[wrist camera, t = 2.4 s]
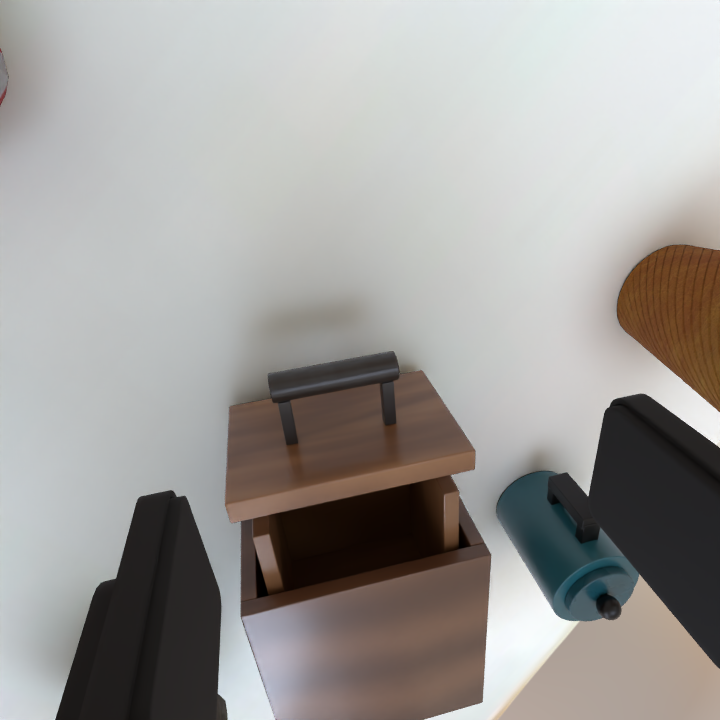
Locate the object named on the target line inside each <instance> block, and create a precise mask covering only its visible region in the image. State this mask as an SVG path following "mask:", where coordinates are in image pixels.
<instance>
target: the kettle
mask: <svg viewBox="0 0 720 720" xmlns="http://www.w3.org/2000/svg"><path fill="white" fill-rule="evenodd" d="M497 517H498V520H499V522H500V523H501V525H502V527H503V528H504V530H505V531H506V533H507V535H508V536H509V538H510V540H511V541H512V543H513V545H514V546H515V548H516V550H517V551H518V553H519V555H520V556H521V558H522V560H523V561H524V563H525V564H526V566H527V568H528V569H529V571H530V573H531V574H532V576H533V578H534V579H535V581H536V583H537V584H538V586H539V588H540V589H541V591H542V592H543V594H544V596H545V597H546V599H547V601H548V602H549V604H550V606H551V607H552V609H553V611H554V612H555V614H556V615H558V616H559V617H560V618H562V619H565V620H569V621H593V620H597V619H601V618H605V619H608V620H615V619H617V618H618V617H619V616H620V615H621V606H623V605H624V604H625V603H626V601H627V600H628V599H629V598H630V596H631V594H632V592H633V590H634V587H635V585H636V583H637V581H638V577H639V573H638V572H637V570H636V569H635V568H634V567H633V566H632V564H631V563H630V562H629V561H628V560H627V558H626V557H625V556H624V555H623V554H622V553H621V551H620V550H619V549H618V548H617V547H616V545H615V544H614V543H613V542H612V541H611V539H610V538H609V537H608V536H607V535H606V533H605V532H604V531H603V530H602V529H601V527H600V526H599V525H598V524H597V523H596V521H595V520H594V519H593V517H592V516H591V514H590V511H589V508H588V496H587V495H586V494H585V493H584V491H583V490H582V489H581V488H580V487H579V486H578V485H577V483H576V482H575V481H574V480H573V479H572V478H571V476H570V475H569V474H568V473H562V474H557V473H555V472H550V471H540V472H535V473H531V474H528V475H526V476H524V477H522V478H520V479H518V480H517V481H515V482H514V483H513V484H511V485H510V486H509V487H508V488H507V489H506V490H505V492H504V493H503V494H502V496H501V497H500V499H499V502H498V505H497Z"/></svg>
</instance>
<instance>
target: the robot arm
mask: <svg viewBox="0 0 720 720" xmlns="http://www.w3.org/2000/svg"><path fill="white" fill-rule="evenodd" d="M588 508H589V511H590V514H591V516H592V517H593V519H594V520H595V521H596V523H597V524H598V525H599V526H600V527H601V529H602V530H603V531H604V532H605V533H606V535H607V536H608V537H609V538H610V539H611V541H612V542H613V543H614V544H615V545H616V547H617V548H618V549H619V550H620V551H621V553H622V554H623V555H624V556H625V557H626V558H627V560H628V561H629V562H630V563H631V564H632V566H633V567H634V568H635V569H636V570H637V572H638V573H639V574H640V575H641V576H642V577H643V579H644V580H645V581H646V582H647V583H648V585H649V586H650V587H651V588H652V590H653V591H654V592H655V593H656V594H657V596H658V597H659V598H660V599H661V600H662V601H663V603H664V604H665V605H666V606H667V608H668V609H669V610H670V611H671V612H672V614H673V615H674V616H675V617H676V618H677V619H678V621H679V622H680V623H681V624H682V625H683V627H684V628H685V629H686V630H687V632H688V633H689V634H690V635H691V636H692V638H693V639H694V640H695V641H696V642H697V644H698V645H699V646H700V647H701V648H702V649H703V651H704V652H705V653H706V654H707V656H709V658H710V659H711V660H712V661H713V663H714V664H715V665H716V666H717V667H718V668H720V448H719V447H718V446H717V445H715V444H714V443H712V442H711V441H710V440H708V439H707V438H706V437H704V436H703V435H702V434H700V433H699V432H697V431H696V430H695V429H693V428H692V427H691V426H689V425H688V424H686V423H685V422H684V421H682V420H681V419H680V418H678V417H677V416H675V415H674V414H673V413H671V412H670V411H669V410H667V409H666V408H665V407H663V406H662V405H660V404H659V403H658V402H656V401H655V400H654V399H652V398H651V397H649V396H647V395H646V394H636V395H632V396H627V397H622V398H617V399H615V400H613V401H612V402H611V404H610V407H609V408H607V409H606V410H605V413H604V417H603V423H602V428H601V433H600V439H599V444H598V449H597V454H596V460H595V465H594V470H593V476H592V481H591V486H590V491H589V497H588ZM220 626H221V597H220V591H219V587H218V585H217V582H216V579H215V576H214V573H213V570H212V568H211V565H210V562H209V559H208V556H207V553H206V551H205V548H204V545H203V542H202V539H201V536H200V534H199V531H198V528H197V525H196V522H195V519H194V516H193V514H192V511H191V508H190V505H189V502H188V500H187V498H186V496H181V497H176V495H175V493H174V492H173V491H172V490H170V491H165V492H160V493H155V494H151V495H146V496H141V497H139V498H138V500H137V503H136V506H135V510H134V514H133V518H132V521H131V525H130V529H129V532H128V536H127V540H126V544H125V547H124V551H123V555H122V559H121V562H120V566H119V570H118V574H117V577H116V579H113V580H109V581H105V582H102V583H100V585H99V586H98V587H97V588H96V591H95V593H94V595H93V598H92V601H91V604H90V608H89V611H88V614H87V618H86V621H85V624H84V627H83V631H82V634H81V637H80V641H79V644H78V647H77V650H76V654H75V657H74V660H73V663H72V667H71V670H70V673H69V677H68V680H67V683H66V686H65V690H64V693H63V696H62V700H61V703H60V706H59V709H58V713H57V716H56V719H55V720H216V715H217V693H218V671H219V649H220Z"/></svg>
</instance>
